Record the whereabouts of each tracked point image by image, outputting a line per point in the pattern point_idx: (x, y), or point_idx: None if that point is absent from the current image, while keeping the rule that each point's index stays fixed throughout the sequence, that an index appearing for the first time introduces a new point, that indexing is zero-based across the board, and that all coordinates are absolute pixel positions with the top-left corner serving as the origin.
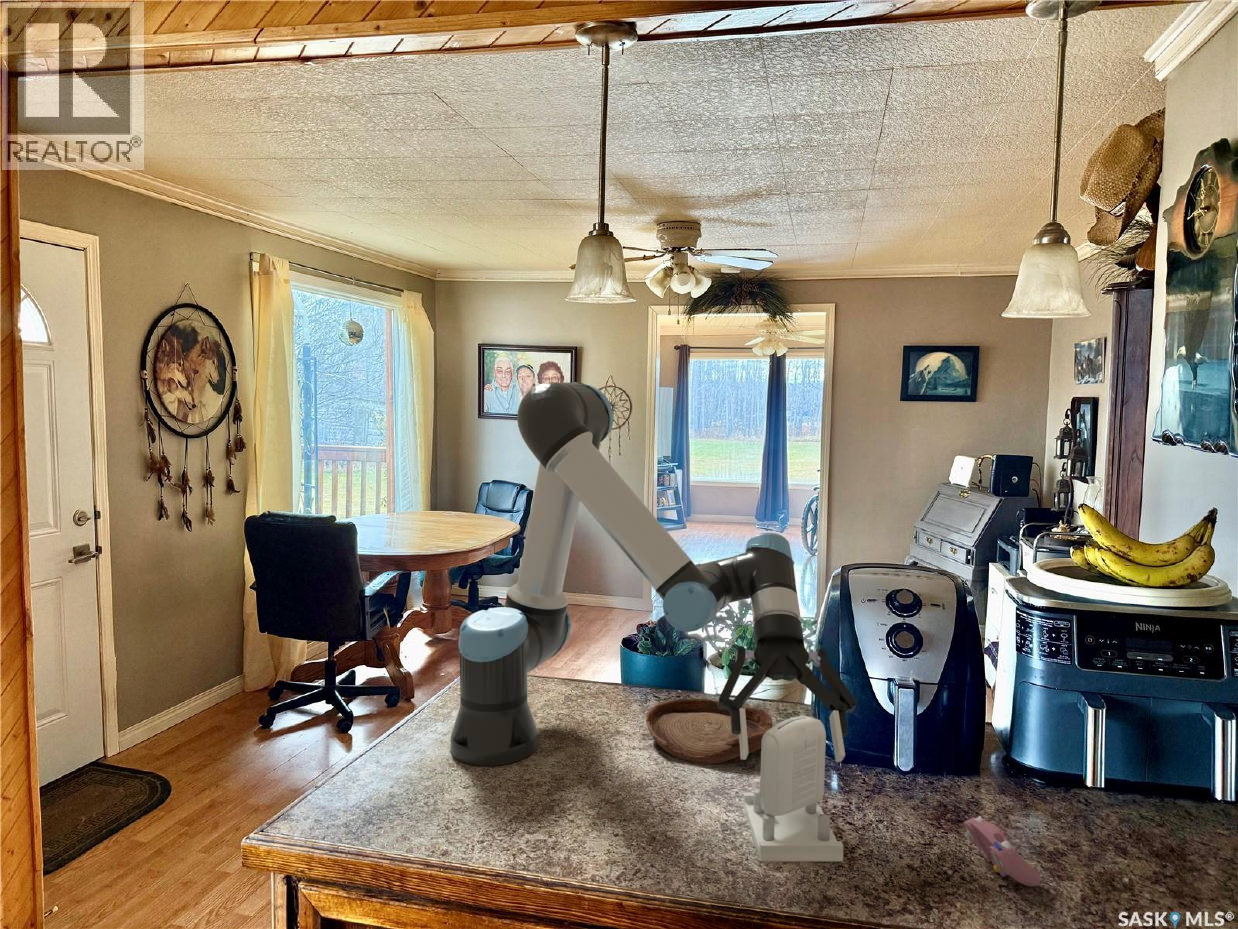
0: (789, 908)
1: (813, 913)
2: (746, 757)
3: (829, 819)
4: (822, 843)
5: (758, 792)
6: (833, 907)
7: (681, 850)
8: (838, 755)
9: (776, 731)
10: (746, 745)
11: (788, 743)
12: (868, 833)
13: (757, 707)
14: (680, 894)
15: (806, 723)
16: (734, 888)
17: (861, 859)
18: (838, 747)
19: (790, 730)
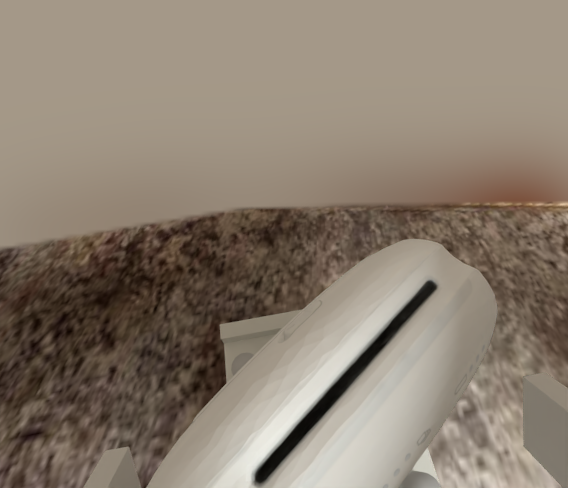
0: (321, 212)
1: (290, 209)
2: (525, 423)
3: (234, 359)
4: (259, 324)
5: (426, 484)
6: (262, 224)
7: (525, 315)
8: (131, 472)
9: (435, 258)
10: (558, 398)
11: (360, 261)
12: (143, 460)
13: None
14: (474, 210)
15: (263, 379)
16: (402, 235)
17: (190, 348)
18: (112, 483)
19: (361, 278)
